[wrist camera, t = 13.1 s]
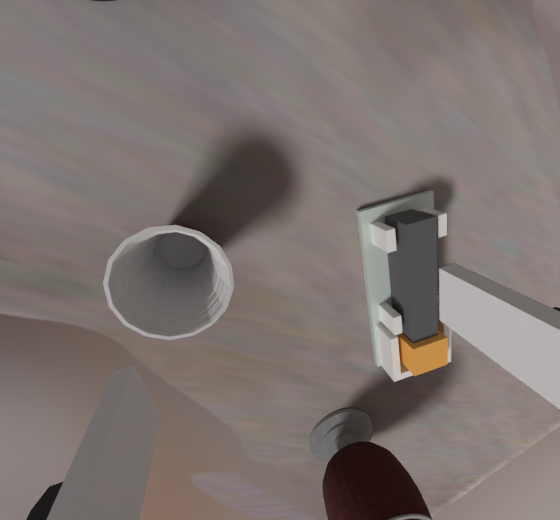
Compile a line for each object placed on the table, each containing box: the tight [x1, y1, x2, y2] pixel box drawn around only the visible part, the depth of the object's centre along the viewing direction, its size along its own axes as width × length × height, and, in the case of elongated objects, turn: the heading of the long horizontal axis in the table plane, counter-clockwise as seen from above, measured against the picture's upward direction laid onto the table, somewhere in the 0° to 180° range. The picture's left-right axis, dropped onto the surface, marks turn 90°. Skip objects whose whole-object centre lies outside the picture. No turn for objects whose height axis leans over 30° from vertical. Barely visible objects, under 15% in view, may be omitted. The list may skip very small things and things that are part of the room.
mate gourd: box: [309, 409, 432, 520], centre depth 45 cm, size 16×14×20 cm
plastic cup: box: [103, 225, 234, 340], centre depth 31 cm, size 11×11×12 cm
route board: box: [356, 190, 451, 382], centre depth 43 cm, size 27×11×5 cm, turn 13°
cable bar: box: [384, 209, 448, 376], centre depth 42 cm, size 23×6×6 cm, turn 13°
